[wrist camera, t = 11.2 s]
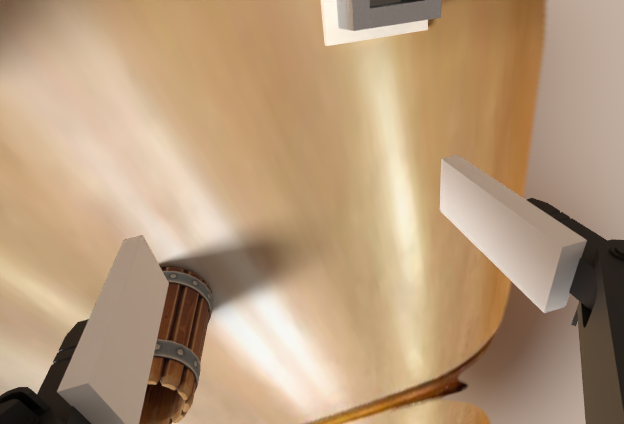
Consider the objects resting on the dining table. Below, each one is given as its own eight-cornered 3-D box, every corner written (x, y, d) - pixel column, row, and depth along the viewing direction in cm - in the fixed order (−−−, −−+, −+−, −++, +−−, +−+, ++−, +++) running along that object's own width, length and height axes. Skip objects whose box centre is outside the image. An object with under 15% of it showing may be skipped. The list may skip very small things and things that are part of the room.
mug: (160, 249, 42) (126, 355, 29) (230, 290, 47) (227, 395, 34) (86, 325, 45) (27, 449, 33) (158, 355, 50) (131, 473, 38)
